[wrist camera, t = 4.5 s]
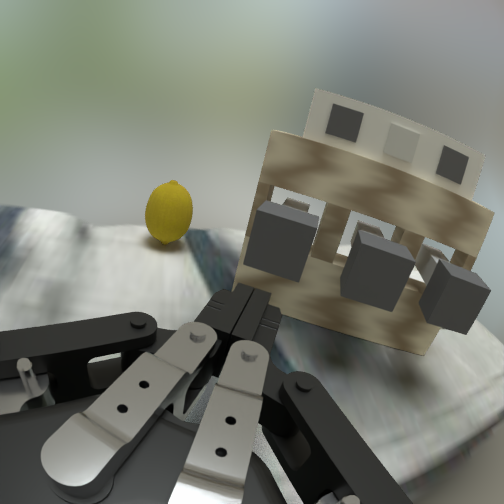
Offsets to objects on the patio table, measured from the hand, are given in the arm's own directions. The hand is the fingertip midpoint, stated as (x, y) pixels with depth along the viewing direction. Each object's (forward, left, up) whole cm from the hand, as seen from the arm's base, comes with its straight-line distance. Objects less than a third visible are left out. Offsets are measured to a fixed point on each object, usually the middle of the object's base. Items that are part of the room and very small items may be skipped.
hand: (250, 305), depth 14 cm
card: (+7, +15, +7) cm, 18 cm away
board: (+7, +17, -9) cm, 21 cm away
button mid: (+7, +13, -2) cm, 15 cm away
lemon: (-14, +20, -9) cm, 26 cm away
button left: (0, +13, -2) cm, 13 cm away
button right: (+14, +13, -2) cm, 19 cm away
